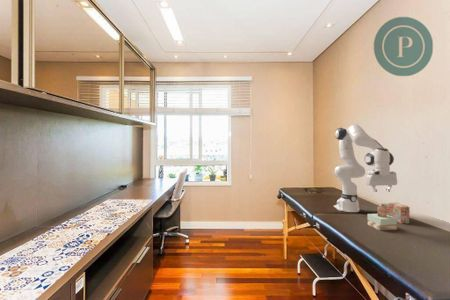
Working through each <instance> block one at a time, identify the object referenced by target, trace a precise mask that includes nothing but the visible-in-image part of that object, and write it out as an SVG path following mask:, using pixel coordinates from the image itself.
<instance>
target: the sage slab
mask: <svg viewBox="0 0 450 300" xmlns="http://www.w3.org/2000/svg"><path fill="white" fill-rule="evenodd" d="M368 220H369V221H372V222H374V223H377V224H379V225H393V224H397V225H398V222H397V218H395V217H392V216H389V215H387V217H379V216H378V213H367V221H368Z"/></svg>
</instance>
